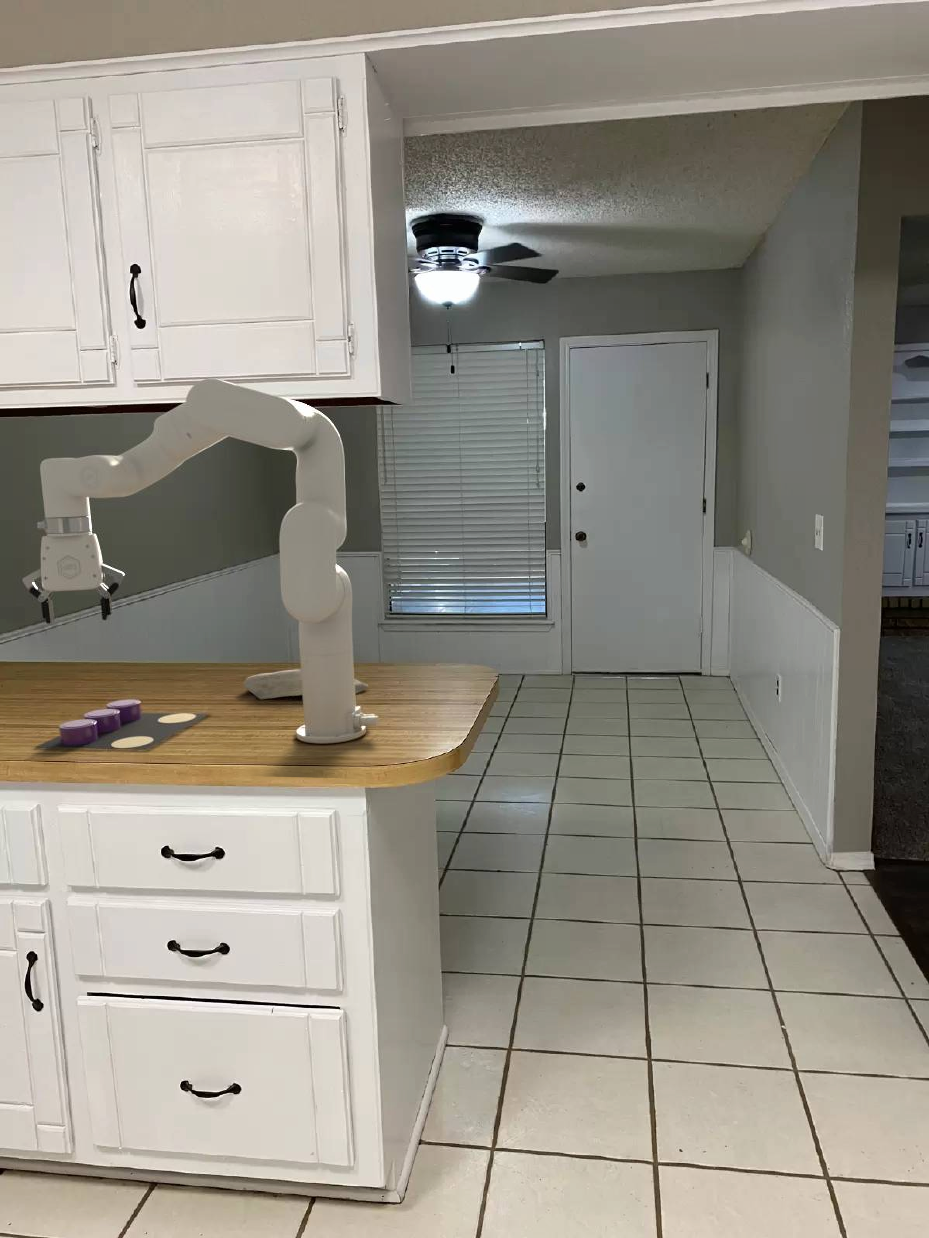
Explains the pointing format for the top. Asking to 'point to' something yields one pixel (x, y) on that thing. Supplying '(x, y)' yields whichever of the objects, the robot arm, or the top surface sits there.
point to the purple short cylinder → (78, 732)
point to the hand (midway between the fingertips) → (78, 620)
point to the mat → (137, 732)
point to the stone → (282, 684)
